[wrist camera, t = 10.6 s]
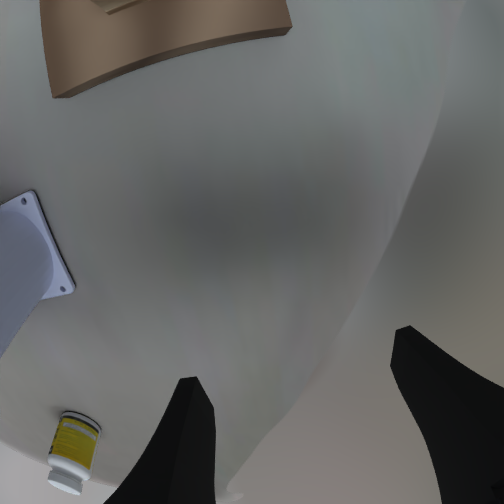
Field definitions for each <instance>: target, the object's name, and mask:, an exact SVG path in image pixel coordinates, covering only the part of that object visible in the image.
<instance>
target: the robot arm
mask: <svg viewBox="0 0 504 504" xmlns="http://www.w3.org/2000/svg"><path fill="white" fill-rule="evenodd" d="M24 198H25V199H26V201H27V203H26V202H25V201H24ZM62 286H63V287H64V288H65V289H64V288H63V287H62ZM74 289H75V285H74V283H73V281H72V279H71V277H70V275H69V273H68V271H67V269H66V266H65V264H64V262H63V260H62V258H61V256H60V254H59V251H58V249H57V247H56V245H55V242H54V240H53V238H52V235H51V233H50V231H49V228H48V226H47V223H46V221H45V218H44V216H43V213H42V210H41V208H40V205H39V202H38V199H37V197H36V194H35V193H34V192H33V191H31V190H30V191H27V192H25V193H23V194H21V195H19V196H17V197H15V198H14V199H12V200H10V201H8V202H6V203H4V204H2V205H0V358H1V357H2V355H3V353H4V352H5V350H6V349H7V347H8V346H9V344H10V342H11V341H12V339H13V338H14V336H15V335H16V333H17V332H18V330H19V329H20V327H21V326H22V324H23V323H24V322H25V320H26V319H27V317H28V316H29V314H30V313H31V312H32V310H33V309H34V308H35V306H36V305H37V303H38V302H39V301H40V300H43V299H47V298H52V297H57V296H61V295H66V294H70V293H73V291H74ZM390 367H391V369H392V372H393V375H394V378H395V380H396V383H397V385H398V388H399V390H400V392H401V394H402V396H403V398H404V400H405V401H406V403H407V405H408V407H409V409H410V411H411V412H412V415H413V417H414V419H415V420H416V422H417V424H418V426H419V428H420V430H421V432H422V435H423V437H424V439H425V442H426V445H427V447H428V450H429V453H430V456H431V459H432V463H433V466H434V469H435V473H436V477H437V481H438V485H439V490H440V495H441V500H442V504H504V388H503V387H501V386H499V385H497V384H495V383H493V382H491V381H489V380H487V379H486V378H484V377H482V376H480V375H479V374H477V373H475V372H474V371H472V370H470V369H469V368H468V367H466V366H464V365H463V364H462V363H460V362H458V361H457V360H456V359H454V358H453V357H452V356H450V355H449V354H447V353H446V352H445V351H443V350H442V349H441V348H439V347H438V346H437V345H435V344H434V343H433V342H431V341H430V340H429V339H428V338H426V337H425V336H424V335H422V334H421V333H420V332H418V331H417V330H416V329H414V328H413V327H412V326H407V327H404V328H401V329H398V330H396V332H395V339H394V346H393V352H392V358H391V364H390ZM215 444H216V428H215V416H214V407H213V405H212V403H211V402H210V400H209V398H208V396H207V395H206V393H205V391H204V389H203V387H202V385H201V384H200V382H199V380H198V378H197V376H196V377H189V378H181V379H180V380H179V382H178V384H177V386H176V389H175V391H174V393H173V395H172V398H171V400H170V402H169V404H168V406H167V409H166V411H165V413H164V415H163V417H162V419H161V421H160V423H159V425H158V427H157V429H156V431H155V433H154V435H153V436H152V438H151V440H150V442H149V444H148V445H147V447H146V449H145V451H144V452H143V454H142V455H141V457H140V459H139V460H138V462H137V463H136V465H135V466H134V467H133V469H132V470H131V472H130V473H129V474H128V476H127V477H126V478H125V480H124V481H123V482H122V483H121V485H120V486H119V487H118V488H117V490H116V491H115V492H114V493H113V494H112V495H111V496H110V497H109V498H108V499H107V500H106V501H105V502H104V503H103V504H216V501H215V490H214V474H215Z"/></svg>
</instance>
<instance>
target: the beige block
mask: <svg viewBox="0 0 504 504" xmlns="http://www.w3.org/2000/svg"><path fill="white" fill-rule="evenodd" d="M90 1H92V2H93V3H95V4H96V5H98V6H99V7H100V8H102V9H103V10H105V13H107V14H108V15H111V14H114V13H116V12H119V11H121V10H124V9H126V8H129V7H132V6H134V5H137V4H140V3H143V2H146V1H149V0H90Z"/></svg>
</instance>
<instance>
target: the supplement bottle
mask: <svg viewBox="0 0 504 504" xmlns="http://www.w3.org/2000/svg"><path fill="white" fill-rule="evenodd" d="M100 435H101V430H100V428H99V426H98V425H97V424H96V423H95V422H94V421H92V420H91V419H89V418H87V417H85V416H83V415H80V414H77V413H73V412H65V413H63V414H62V416H61V418H60V421H59V424H58V427H57V430H56V433H55V436H54V439H53V442H52V445H51V448H50V451H49V455H48V463H49V465H50V466H51V467H52V468H53V470H52V471H50V473H49V477H48V482H49V483H50V484H52V485H53V486H55V487H57V488H59V489H61V490H63V491H65V492H68V493H71V494H76V495H81V491H82V483H81V481H86V480H88V479H90V477H91V474H92V469H93V465H94V460H95V455H96V451H97V447H98V443H99V439H100Z"/></svg>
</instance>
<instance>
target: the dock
mask: <svg viewBox="0 0 504 504" xmlns="http://www.w3.org/2000/svg"><path fill="white" fill-rule="evenodd" d="M40 16H41V27H42V36H43V45H44V52H45V59H46V65H47V71H48V77H49V82H50V87H51V92H52V97H53V98H70V97H72V96H74V95H76V94H78V93H80V92H83V91H85V90H87V89H89V88H91V87H94V86H96V85H98V84H100V83H103V82H105V81H108V80H110V79H112V78H115V77H117V76H120V75H123V74H125V73H128V72H130V71H133V70H136V69H139V68H142V67H145V66H147V65H150V64H153V63H157V62H160V61H163V60H166V59H169V58H173V57H176V56H180V55H183V54H187V53H191V52H195V51H199V50H203V49H207V48H211V47H216V46H220V45H225V44H230V43H235V42H241V41H246V40H252V39H259V38H266V37H273V36H282V35H286V34H287V32H288V31H289V30H290V29H291V28H292V23H291V19H290V15H289V11H288V8H287V4H286V0H149V1H146V2H143V3H140V4H137V5H134V6H132V7H129V8H126V9H124V10H121V11H119V12H116V13H114V14H111V15H108V14H107V13H105V10H103V9H102V8H100V7H99V6H98V5H96V4H95V3H93V2H92V1H90V0H40Z"/></svg>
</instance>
